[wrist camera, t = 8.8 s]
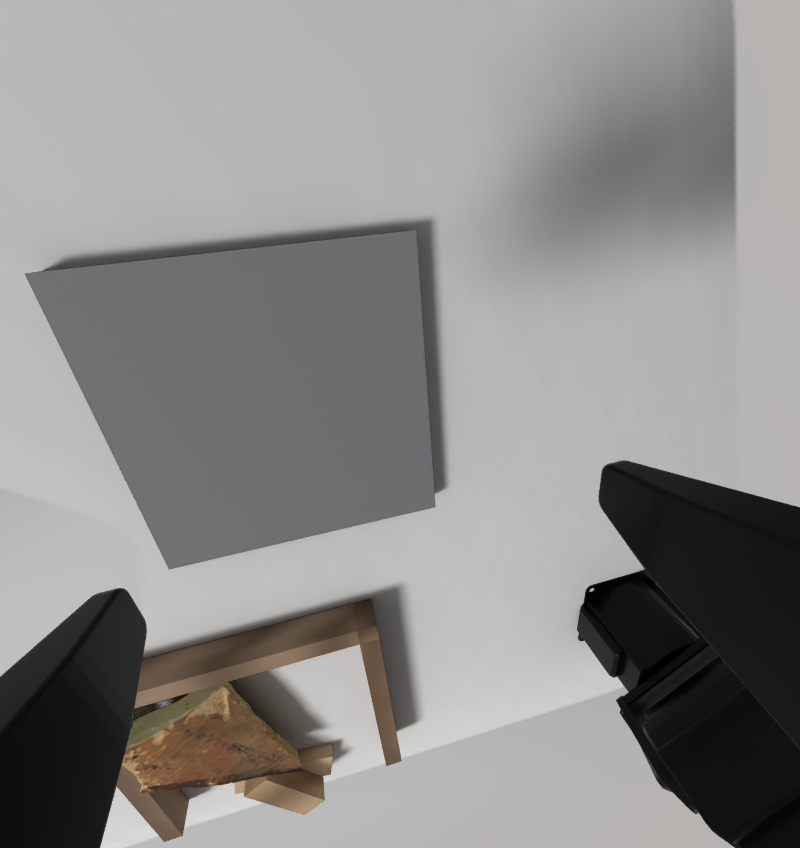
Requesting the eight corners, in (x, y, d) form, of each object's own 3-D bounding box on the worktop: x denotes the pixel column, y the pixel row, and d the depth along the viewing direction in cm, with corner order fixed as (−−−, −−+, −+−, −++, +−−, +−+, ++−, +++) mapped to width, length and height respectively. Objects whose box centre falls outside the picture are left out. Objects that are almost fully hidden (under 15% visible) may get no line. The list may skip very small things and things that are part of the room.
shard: (301, 749, 30) (305, 775, 28) (200, 814, 28) (198, 845, 27) (228, 664, 25) (227, 690, 23) (102, 736, 23) (92, 769, 22)
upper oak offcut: (323, 776, 31) (324, 800, 30) (303, 790, 32) (304, 814, 30) (267, 755, 29) (266, 780, 27) (246, 770, 29) (243, 796, 27)
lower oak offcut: (331, 735, 32) (332, 756, 31) (329, 752, 33) (330, 774, 31) (236, 752, 30) (234, 775, 29) (237, 770, 31) (235, 794, 30)
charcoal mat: (409, 230, 17) (416, 229, 16) (430, 496, 23) (435, 506, 22) (41, 271, 15) (24, 273, 14) (174, 555, 21) (168, 569, 20)
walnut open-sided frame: (371, 598, 26) (376, 625, 24) (395, 732, 33) (401, 761, 31) (74, 678, 23) (56, 715, 21) (171, 806, 30) (164, 841, 28)
